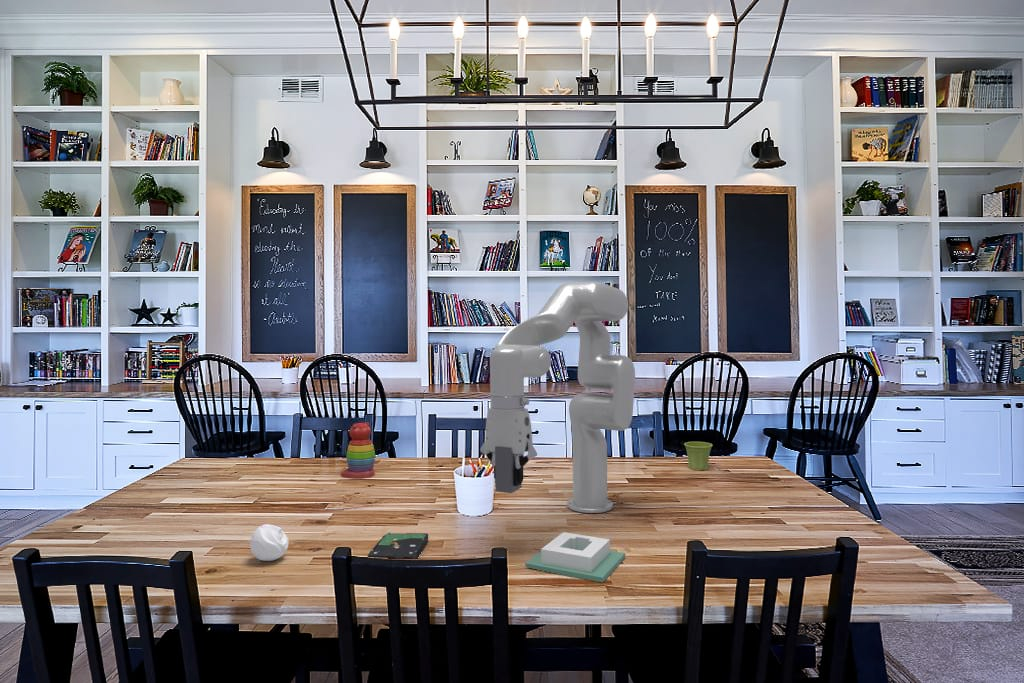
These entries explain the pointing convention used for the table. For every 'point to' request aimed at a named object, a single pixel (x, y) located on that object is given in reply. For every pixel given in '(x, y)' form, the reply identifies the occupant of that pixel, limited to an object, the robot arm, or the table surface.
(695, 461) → the plant pot
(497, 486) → the plug
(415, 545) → the disk drive
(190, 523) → the table surface
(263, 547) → the crumpled white paper ball
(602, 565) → the board
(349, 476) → the stacking bear
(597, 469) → the robot arm
